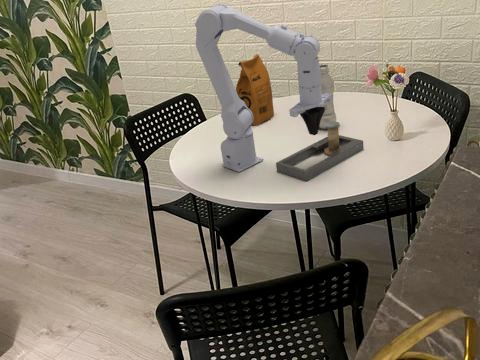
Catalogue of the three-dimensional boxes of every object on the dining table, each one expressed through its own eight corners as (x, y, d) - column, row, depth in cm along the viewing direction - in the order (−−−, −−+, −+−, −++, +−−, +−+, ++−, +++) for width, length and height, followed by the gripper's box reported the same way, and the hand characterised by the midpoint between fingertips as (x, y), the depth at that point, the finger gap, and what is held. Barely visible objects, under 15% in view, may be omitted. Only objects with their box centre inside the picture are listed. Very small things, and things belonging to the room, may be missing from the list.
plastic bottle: (321, 132, 161) (317, 70, 152) (313, 126, 167) (308, 66, 158) (340, 128, 162) (336, 66, 153) (331, 122, 168) (327, 62, 159)
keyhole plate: (306, 181, 132) (305, 172, 131) (276, 171, 140) (275, 162, 139) (363, 149, 145) (363, 140, 144) (333, 141, 153) (333, 133, 152)
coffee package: (235, 124, 180) (225, 62, 170) (256, 112, 188) (248, 53, 178) (257, 127, 173) (248, 63, 164) (278, 115, 182) (271, 53, 172)
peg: (334, 158, 143) (332, 129, 139) (320, 153, 147) (318, 125, 143) (348, 151, 145) (347, 122, 141) (334, 147, 150) (332, 119, 146)
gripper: (302, 95, 125) (306, 146, 131) (339, 79, 133) (342, 127, 139) (281, 91, 130) (286, 140, 136) (319, 76, 138) (322, 123, 144)
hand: (313, 133), depth 138 cm, fingers closed
